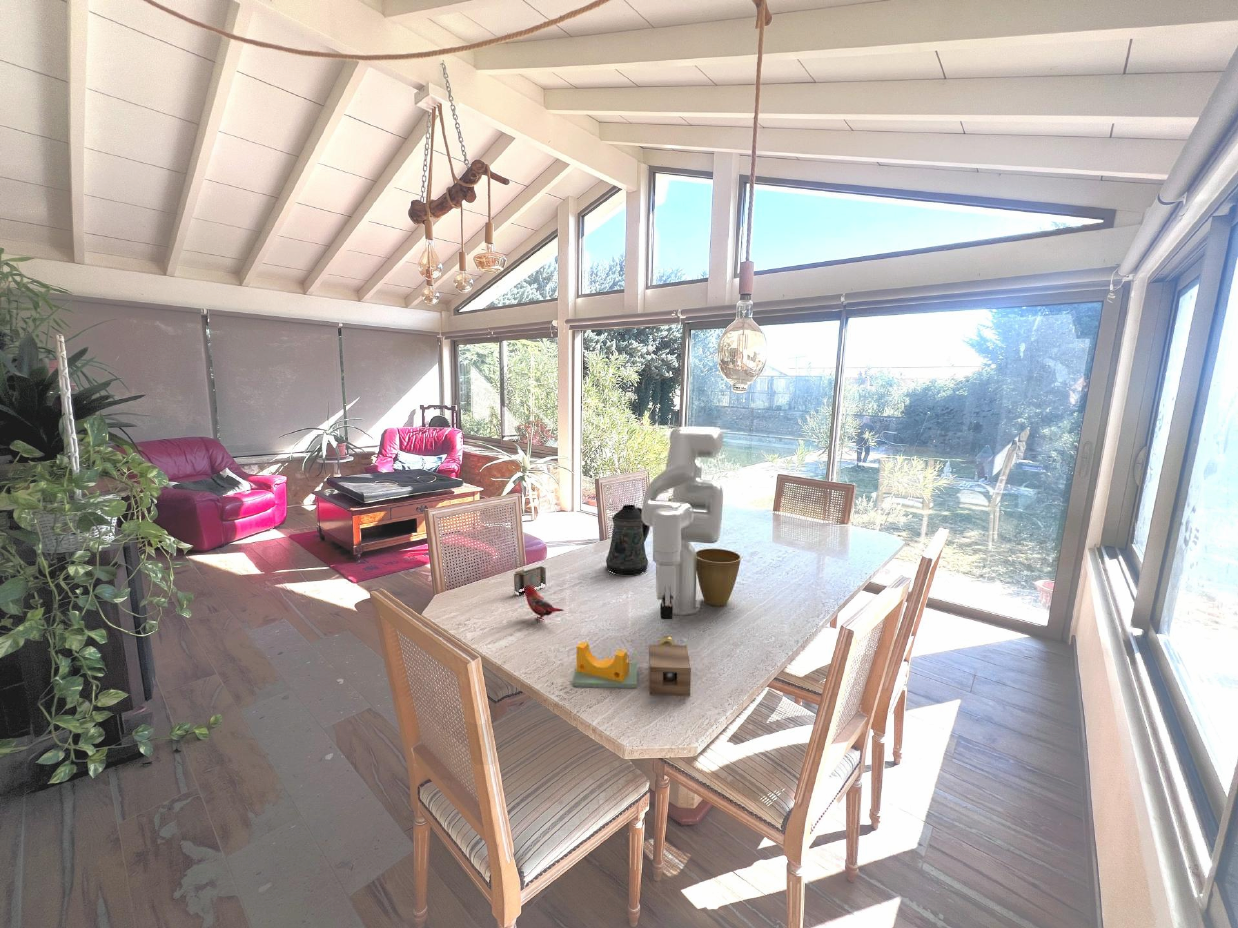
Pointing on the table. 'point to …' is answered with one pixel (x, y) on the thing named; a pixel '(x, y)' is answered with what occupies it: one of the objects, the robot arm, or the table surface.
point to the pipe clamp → (602, 664)
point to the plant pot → (717, 574)
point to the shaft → (667, 641)
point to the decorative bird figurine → (538, 603)
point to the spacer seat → (597, 681)
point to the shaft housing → (669, 670)
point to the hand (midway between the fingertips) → (666, 617)
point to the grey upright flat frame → (529, 578)
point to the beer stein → (628, 542)
